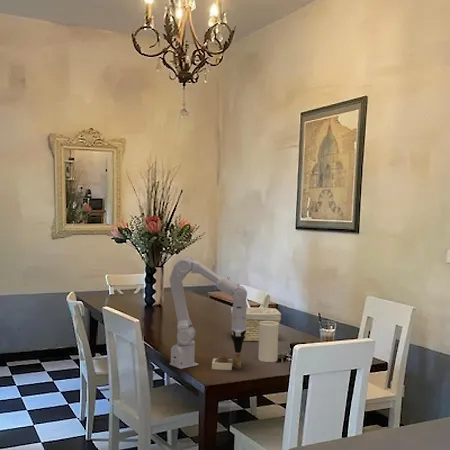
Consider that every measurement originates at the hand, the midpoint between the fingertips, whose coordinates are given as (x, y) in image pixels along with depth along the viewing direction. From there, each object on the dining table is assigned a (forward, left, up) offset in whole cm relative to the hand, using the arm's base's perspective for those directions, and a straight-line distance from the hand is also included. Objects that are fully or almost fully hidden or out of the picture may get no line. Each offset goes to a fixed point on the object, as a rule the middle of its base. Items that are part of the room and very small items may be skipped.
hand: (238, 350), depth 217 cm
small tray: (-4, +4, -7) cm, 10 cm away
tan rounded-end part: (-2, +2, -7) cm, 8 cm away
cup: (+19, +2, -8) cm, 21 cm away
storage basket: (+41, +33, -8) cm, 53 cm away
